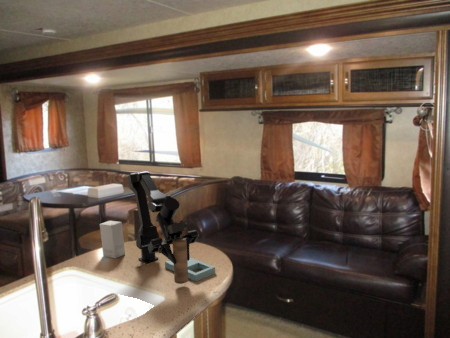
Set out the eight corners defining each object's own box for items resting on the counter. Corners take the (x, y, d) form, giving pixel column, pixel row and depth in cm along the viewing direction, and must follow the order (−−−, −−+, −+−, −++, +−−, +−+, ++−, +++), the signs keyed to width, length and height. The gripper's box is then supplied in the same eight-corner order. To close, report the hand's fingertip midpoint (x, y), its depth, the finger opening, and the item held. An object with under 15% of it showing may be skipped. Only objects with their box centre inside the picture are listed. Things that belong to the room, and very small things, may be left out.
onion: (155, 240, 183) (154, 221, 182) (169, 243, 178) (168, 223, 177) (142, 246, 175) (140, 226, 174) (157, 249, 170) (155, 229, 169)
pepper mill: (171, 280, 130) (169, 241, 128) (182, 276, 133) (180, 237, 131) (180, 285, 126) (177, 244, 124) (191, 280, 130) (189, 240, 128)
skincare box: (125, 254, 165) (123, 221, 163) (114, 259, 159) (111, 225, 157) (113, 251, 169) (110, 219, 167) (101, 256, 164) (99, 223, 162)
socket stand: (165, 267, 148) (164, 261, 148) (184, 260, 155) (184, 254, 155) (195, 281, 134) (195, 275, 133) (215, 273, 141) (215, 267, 140)
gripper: (149, 217, 125) (163, 257, 117) (195, 209, 135) (212, 245, 127) (142, 234, 132) (155, 272, 125) (187, 224, 142) (202, 259, 135)
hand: (182, 261), depth 128 cm, fingers closed on pepper mill, 5 cm apart
